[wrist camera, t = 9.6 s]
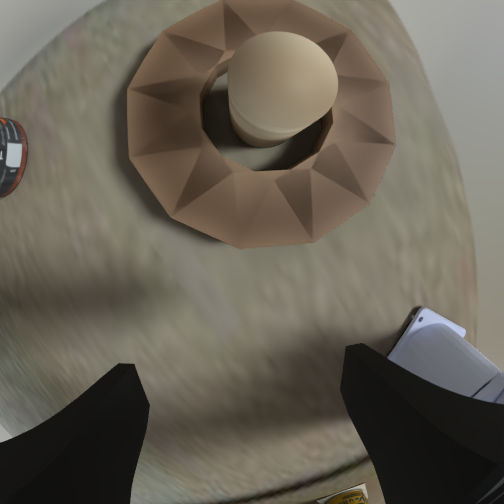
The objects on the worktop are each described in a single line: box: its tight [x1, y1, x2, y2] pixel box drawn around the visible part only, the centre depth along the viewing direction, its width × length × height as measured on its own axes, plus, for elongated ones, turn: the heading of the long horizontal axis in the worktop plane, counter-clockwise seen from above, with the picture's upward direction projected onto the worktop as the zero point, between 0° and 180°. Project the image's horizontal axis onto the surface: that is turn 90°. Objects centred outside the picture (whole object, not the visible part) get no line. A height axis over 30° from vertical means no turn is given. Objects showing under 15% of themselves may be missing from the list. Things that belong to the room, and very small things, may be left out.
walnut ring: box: [127, 0, 396, 249], centre depth 14 cm, size 15×15×2 cm
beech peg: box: [228, 32, 338, 148], centre depth 12 cm, size 4×4×7 cm
